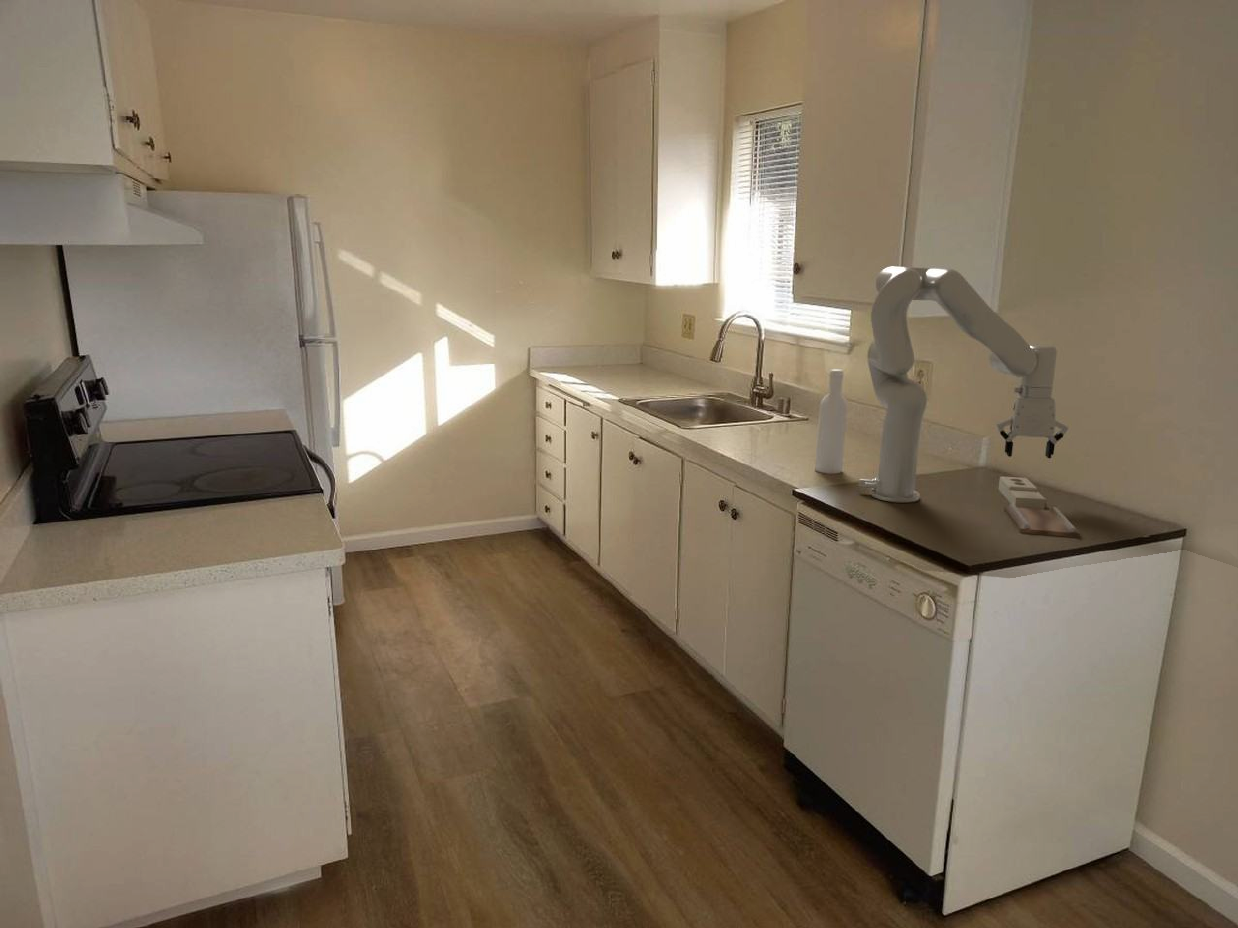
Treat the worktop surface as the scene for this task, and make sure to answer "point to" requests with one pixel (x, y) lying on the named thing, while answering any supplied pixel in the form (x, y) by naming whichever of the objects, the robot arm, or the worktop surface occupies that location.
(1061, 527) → the rail board
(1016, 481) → the electrical outlet
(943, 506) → the worktop surface
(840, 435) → the bottle
